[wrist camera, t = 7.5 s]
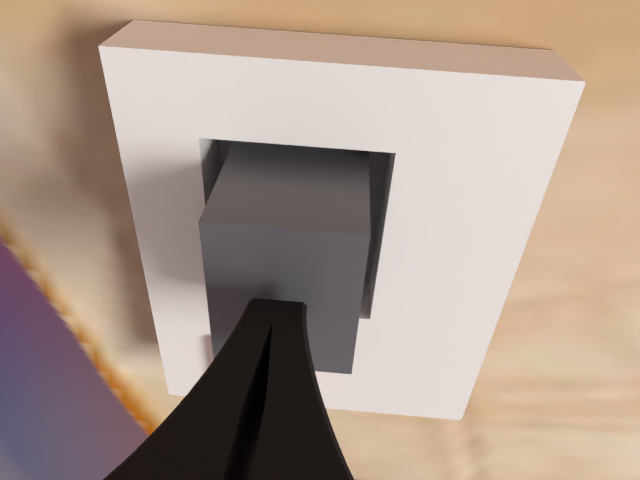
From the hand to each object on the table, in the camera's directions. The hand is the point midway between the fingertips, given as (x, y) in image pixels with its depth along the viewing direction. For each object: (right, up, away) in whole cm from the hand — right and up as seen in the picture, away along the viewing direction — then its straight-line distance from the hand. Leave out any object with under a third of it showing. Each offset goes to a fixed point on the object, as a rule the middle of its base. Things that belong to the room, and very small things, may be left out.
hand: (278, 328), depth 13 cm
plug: (0, +3, +5) cm, 6 cm away
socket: (+1, +2, +6) cm, 7 cm away
